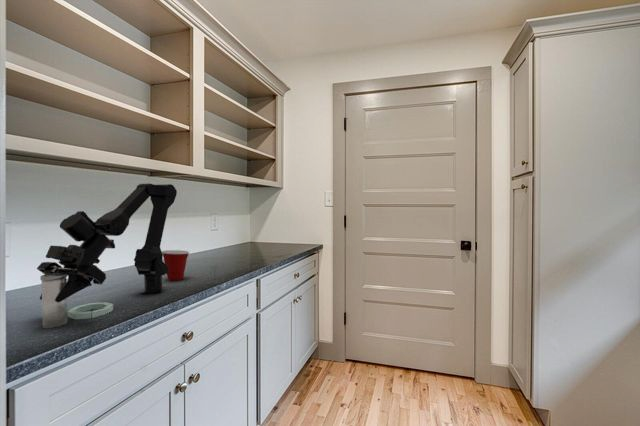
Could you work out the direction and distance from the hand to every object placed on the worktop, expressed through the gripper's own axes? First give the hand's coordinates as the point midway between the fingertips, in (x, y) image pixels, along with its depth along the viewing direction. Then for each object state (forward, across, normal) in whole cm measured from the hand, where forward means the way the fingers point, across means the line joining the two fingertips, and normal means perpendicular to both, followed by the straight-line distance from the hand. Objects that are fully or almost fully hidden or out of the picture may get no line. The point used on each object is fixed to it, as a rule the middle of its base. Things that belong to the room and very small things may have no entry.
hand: (48, 300), depth 83 cm
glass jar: (+4, 0, +6) cm, 7 cm away
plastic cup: (-32, -5, +42) cm, 53 cm away
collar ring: (-3, 0, +12) cm, 13 cm away
